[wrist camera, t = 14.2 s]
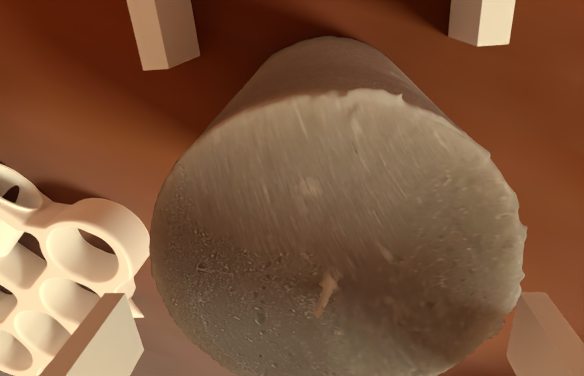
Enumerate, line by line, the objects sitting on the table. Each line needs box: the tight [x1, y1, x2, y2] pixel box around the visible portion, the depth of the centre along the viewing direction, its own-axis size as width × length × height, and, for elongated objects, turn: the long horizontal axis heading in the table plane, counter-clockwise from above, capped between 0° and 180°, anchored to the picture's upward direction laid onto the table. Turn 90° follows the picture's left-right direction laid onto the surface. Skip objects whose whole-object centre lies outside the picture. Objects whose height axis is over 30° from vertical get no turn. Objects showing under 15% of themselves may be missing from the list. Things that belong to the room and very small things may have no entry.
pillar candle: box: [149, 36, 527, 376], centre depth 16 cm, size 10×10×15 cm
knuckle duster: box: [0, 164, 150, 376], centre depth 28 cm, size 3×18×15 cm
